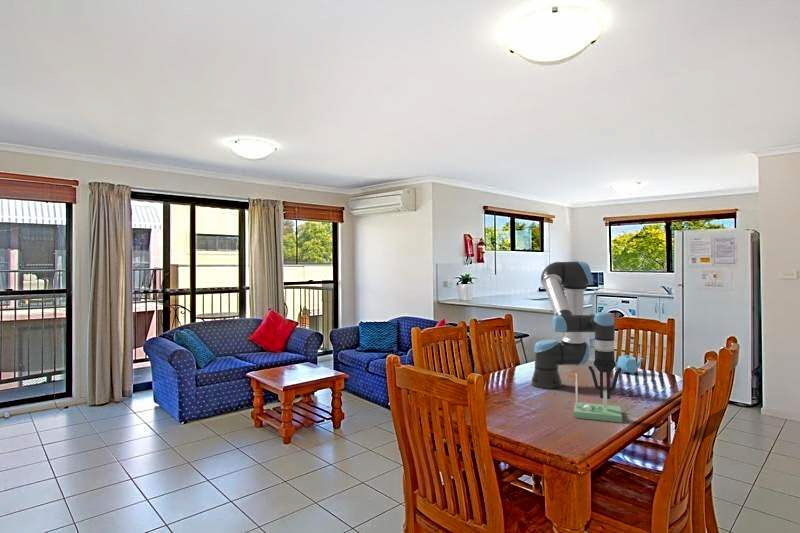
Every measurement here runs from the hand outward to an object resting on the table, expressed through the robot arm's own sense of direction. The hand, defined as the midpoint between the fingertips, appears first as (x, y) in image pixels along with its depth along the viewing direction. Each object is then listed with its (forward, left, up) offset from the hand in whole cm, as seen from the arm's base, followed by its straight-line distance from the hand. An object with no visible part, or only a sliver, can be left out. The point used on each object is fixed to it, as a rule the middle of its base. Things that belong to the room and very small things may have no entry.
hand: (605, 406), depth 193 cm
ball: (-7, 0, -2) cm, 7 cm away
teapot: (+14, +86, -4) cm, 87 cm away
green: (-4, 0, -4) cm, 6 cm away
